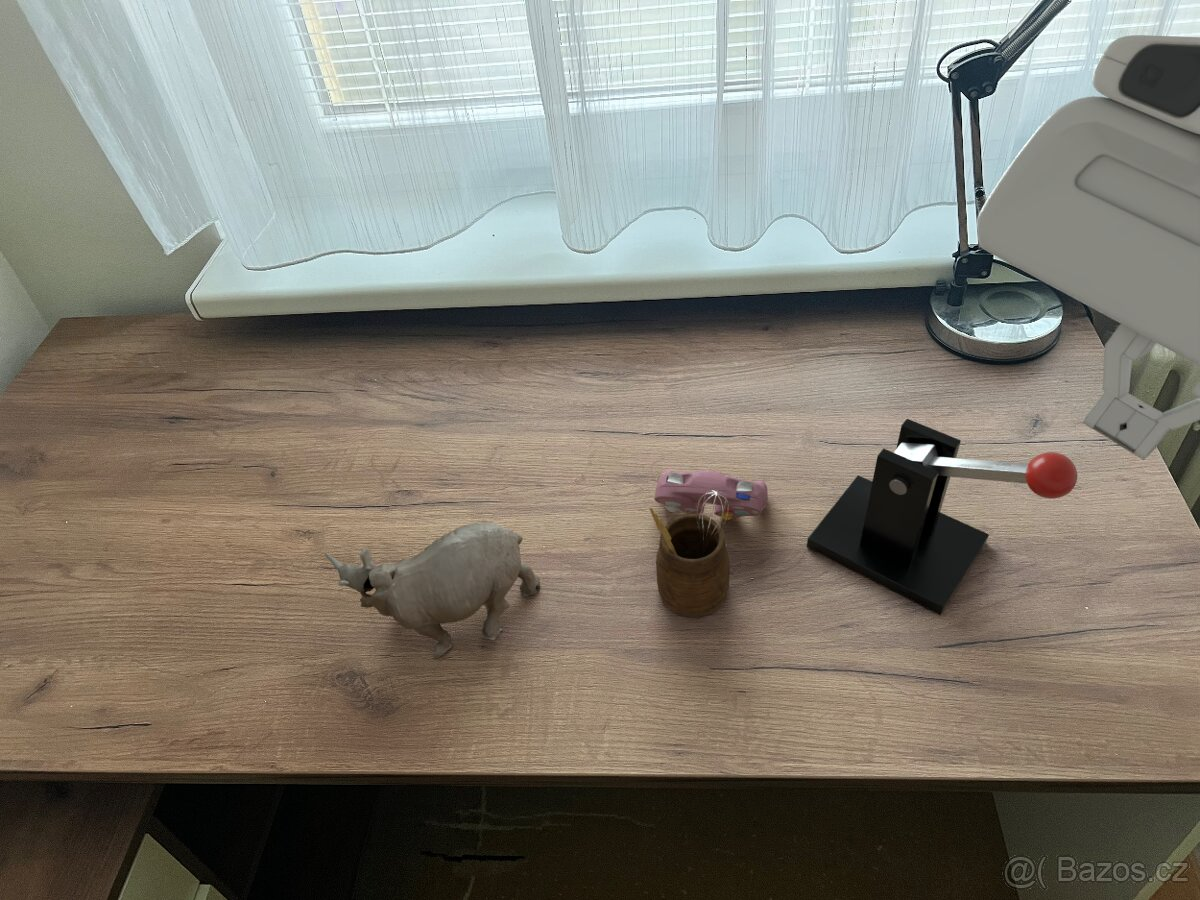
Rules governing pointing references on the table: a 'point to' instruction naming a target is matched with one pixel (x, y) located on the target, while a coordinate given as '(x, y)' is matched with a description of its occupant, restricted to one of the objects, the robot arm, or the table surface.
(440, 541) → the rhinoceros figurine
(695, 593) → the utensil holder
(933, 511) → the bracket
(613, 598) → the table surface
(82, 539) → the table surface
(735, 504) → the pink toy car
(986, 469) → the lever
